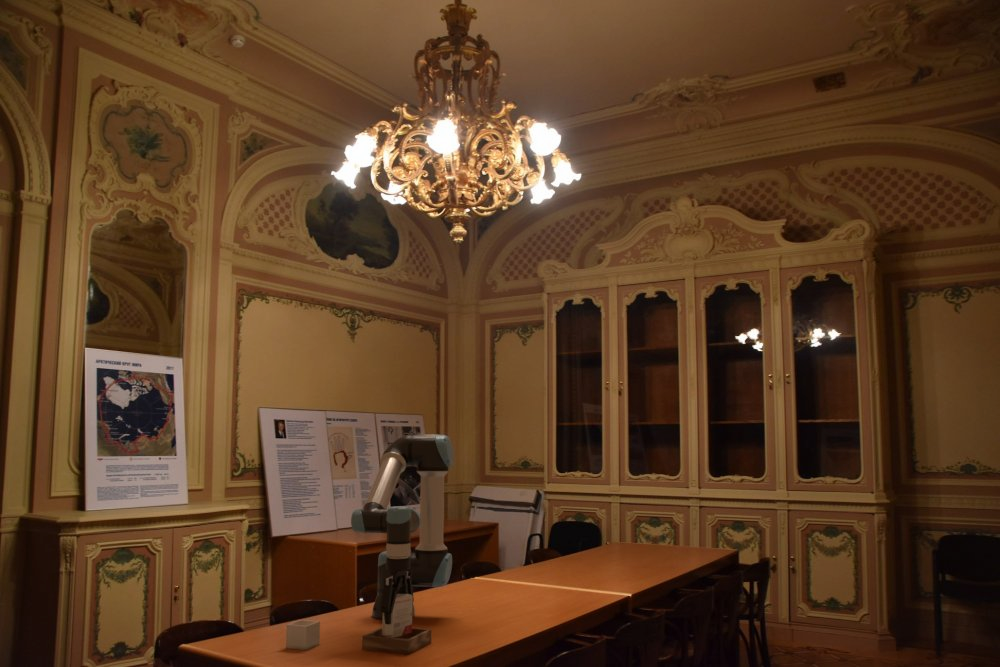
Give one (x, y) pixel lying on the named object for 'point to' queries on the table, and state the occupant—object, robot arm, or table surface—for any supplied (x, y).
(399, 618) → the ink box
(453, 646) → the table surface
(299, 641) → the small grey bin
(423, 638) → the crate
